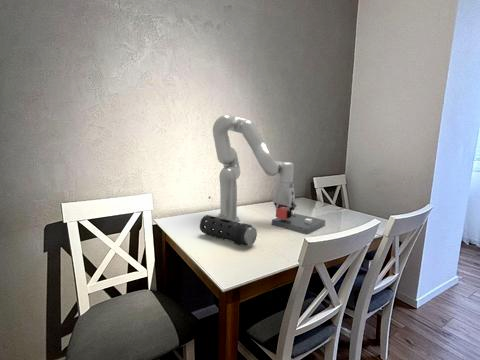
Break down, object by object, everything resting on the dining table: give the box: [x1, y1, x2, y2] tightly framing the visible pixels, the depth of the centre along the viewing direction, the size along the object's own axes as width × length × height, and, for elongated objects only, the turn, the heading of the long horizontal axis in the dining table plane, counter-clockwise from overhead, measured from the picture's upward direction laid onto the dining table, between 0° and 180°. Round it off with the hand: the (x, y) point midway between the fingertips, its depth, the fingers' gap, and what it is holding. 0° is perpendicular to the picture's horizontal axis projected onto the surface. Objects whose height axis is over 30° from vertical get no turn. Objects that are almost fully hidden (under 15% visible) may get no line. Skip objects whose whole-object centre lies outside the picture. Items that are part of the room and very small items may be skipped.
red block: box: [275, 207, 293, 220], centre depth 162 cm, size 6×6×5 cm
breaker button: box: [305, 218, 312, 224], centre depth 158 cm, size 3×3×4 cm
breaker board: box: [271, 212, 326, 235], centre depth 162 cm, size 20×22×4 cm
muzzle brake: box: [199, 214, 258, 247], centre depth 137 cm, size 10×28×10 cm, turn 53°
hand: (283, 216), depth 162 cm, fingers closed on red block, 6 cm apart
